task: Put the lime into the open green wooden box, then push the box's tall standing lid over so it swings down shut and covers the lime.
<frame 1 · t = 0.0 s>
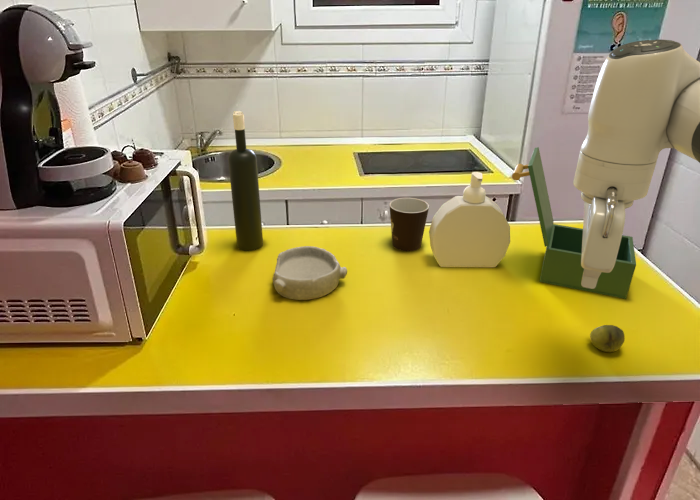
hand: (588, 269, 73), 18 cm above the counter, tool pointing down, fingers open, 8 cm apart
green box: (582, 276, 106), on the counter
wine bottle: (250, 247, 116), on the counter
lid: (531, 197, 103), point 15 cm above the counter, hinge at 110.1°
coffee mug: (408, 244, 119), on the counter
dish: (307, 284, 103), on the counter
lime: (604, 350, 85), on the counter
soap bottle: (465, 263, 111), on the counter
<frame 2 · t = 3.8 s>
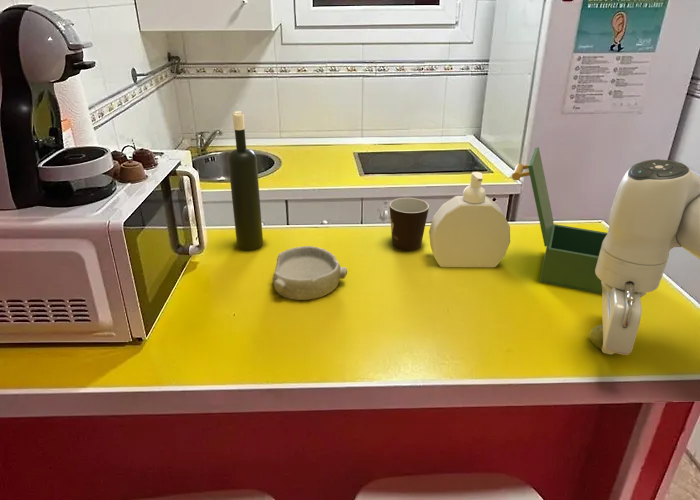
hand: (606, 342, 84), 2 cm above the counter, tool pointing down, fingers closed on lime, 3 cm apart
lime: (604, 349, 85), on the counter, touching gripper
everything else where it was.
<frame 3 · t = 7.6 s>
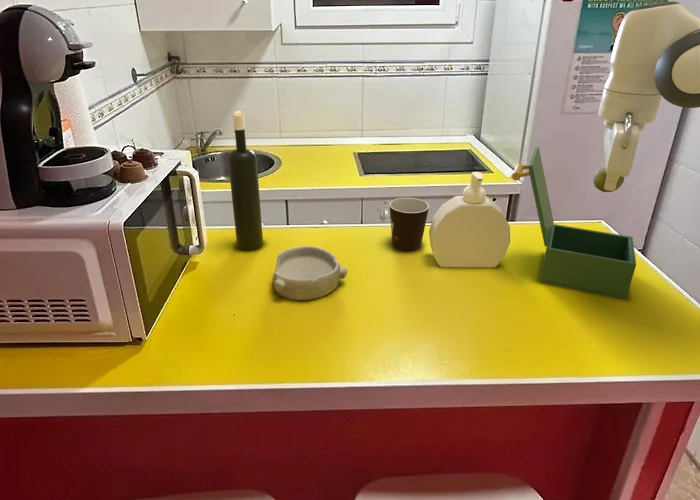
hand: (608, 184, 94), 21 cm above the counter, tool pointing down, fingers closed on lime, 3 cm apart
lime: (606, 193, 95), point 19 cm above the counter, touching gripper
everything else where it was.
when the fingers open (7 cm above the counter, at t = 11.3 s): lime drops 3 cm, resting on green box.
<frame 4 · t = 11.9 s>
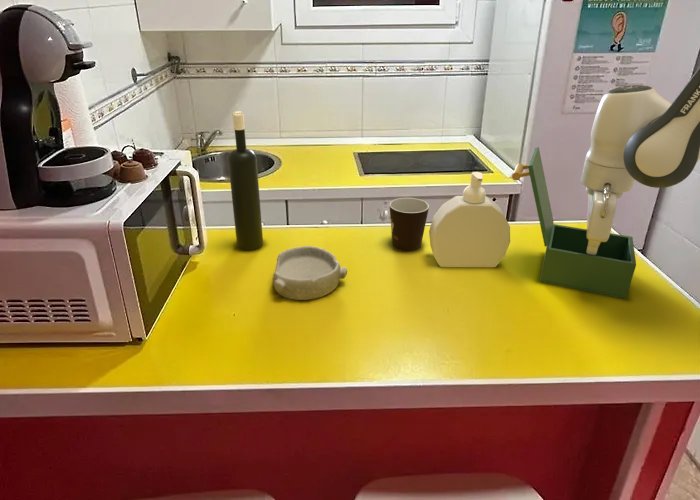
hand: (591, 242, 102), 8 cm above the counter, tool pointing down, fingers open, 8 cm apart
lime: (587, 270, 104), point 2 cm above the counter, touching green box
everything else where it was.
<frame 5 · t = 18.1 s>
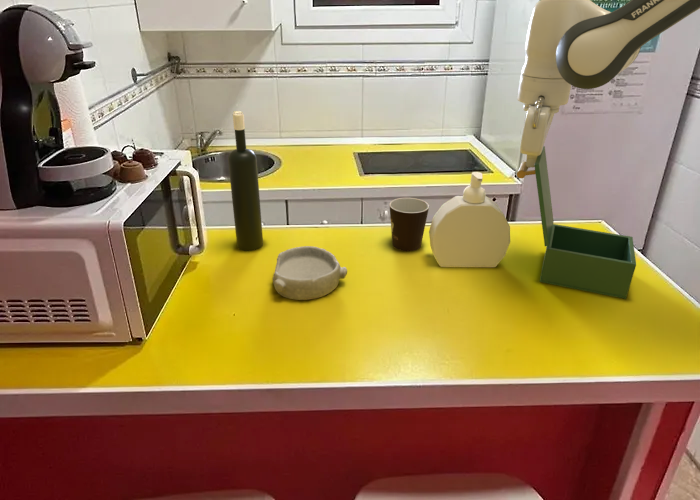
hand: (531, 165, 100), 22 cm above the counter, tool pointing down, fingers closed, pressing on lid
lid: (534, 196, 103), point 16 cm above the counter, hinge at 106.1°, touching gripper
everything else where it was.
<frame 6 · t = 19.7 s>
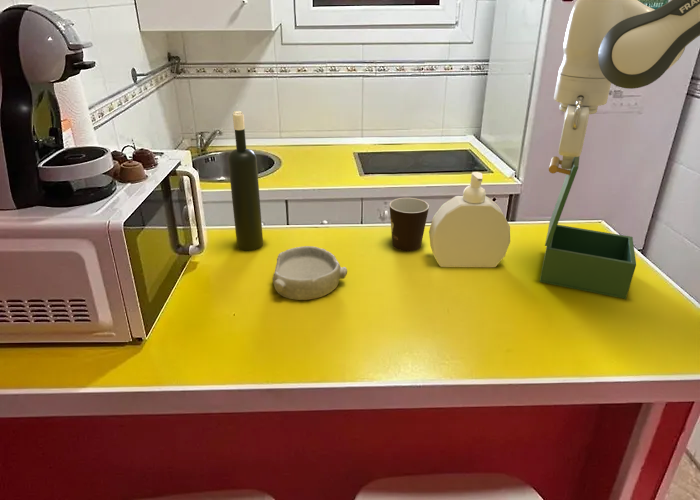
hand: (566, 166, 98), 22 cm above the counter, tool pointing down, fingers closed
lid: (552, 194, 101), point 17 cm above the counter, hinge at 82.8°
everything else where it was.
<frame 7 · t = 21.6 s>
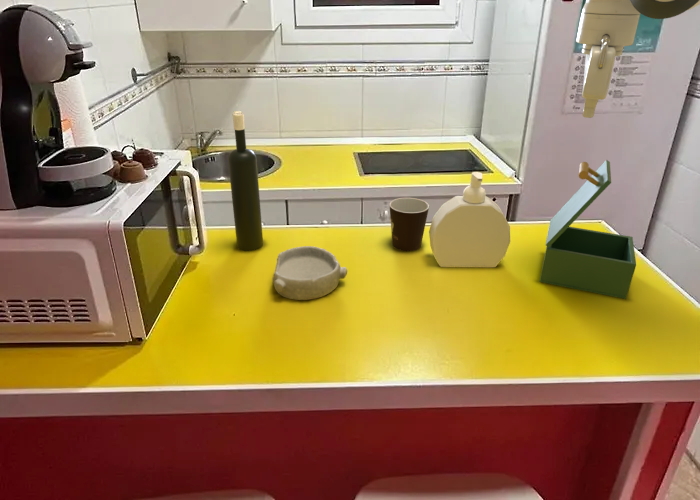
hand: (587, 115, 93), 32 cm above the counter, tool pointing down, fingers closed
lid: (569, 197, 100), point 16 cm above the counter, hinge at 61.4°
everything else where it was.
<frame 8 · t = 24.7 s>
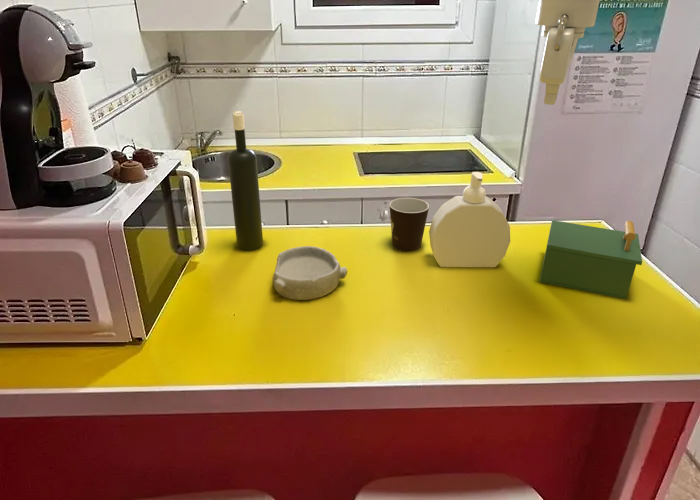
hand: (549, 103, 88), 35 cm above the counter, tool pointing down, fingers closed
lid: (595, 232, 101), point 10 cm above the counter, hinge at -0.1°
everything else where it was.
at the end: lime inside the target area in the green box (1.2 cm from its centre), point 2.0 cm above the green box's base; lid at +0° (first picture: +110°) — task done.
